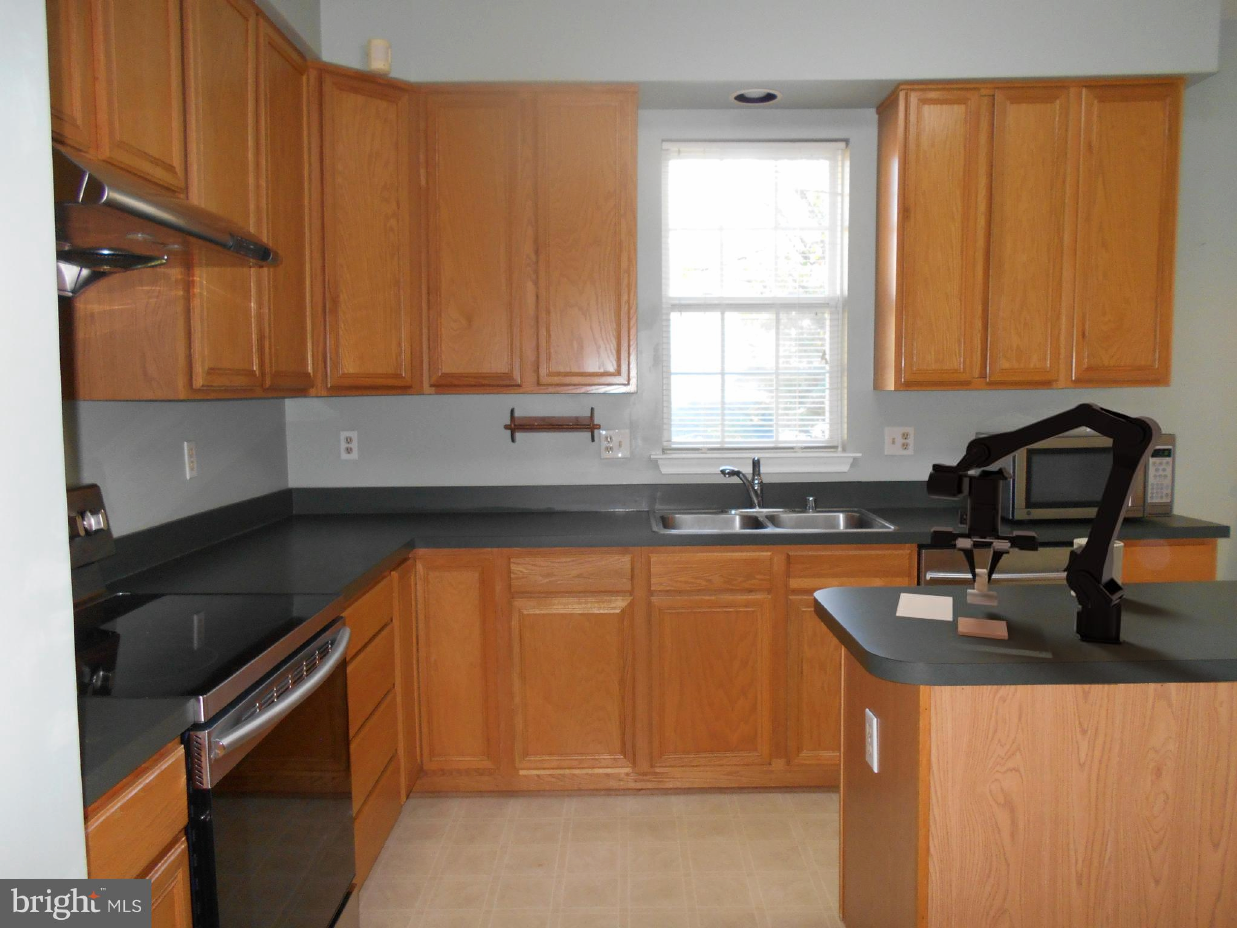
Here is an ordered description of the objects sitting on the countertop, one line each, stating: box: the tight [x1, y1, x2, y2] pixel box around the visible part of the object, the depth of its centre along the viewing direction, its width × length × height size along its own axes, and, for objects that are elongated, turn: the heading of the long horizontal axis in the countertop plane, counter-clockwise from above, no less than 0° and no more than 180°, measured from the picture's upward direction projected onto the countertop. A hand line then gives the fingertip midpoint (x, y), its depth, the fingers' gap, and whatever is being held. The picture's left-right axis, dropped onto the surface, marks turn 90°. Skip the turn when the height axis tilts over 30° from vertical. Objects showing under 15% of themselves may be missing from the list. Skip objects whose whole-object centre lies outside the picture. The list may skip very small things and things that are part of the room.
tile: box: [957, 616, 1009, 641], centre depth 153 cm, size 8×2×9 cm
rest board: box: [895, 592, 953, 622], centre depth 169 cm, size 10×18×1 cm, turn 159°
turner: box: [966, 568, 999, 606], centre depth 162 cm, size 13×5×4 cm, turn 159°
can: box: [1070, 537, 1125, 597], centre depth 178 cm, size 9×9×12 cm
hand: (981, 582), depth 164 cm, fingers closed on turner, 2 cm apart
